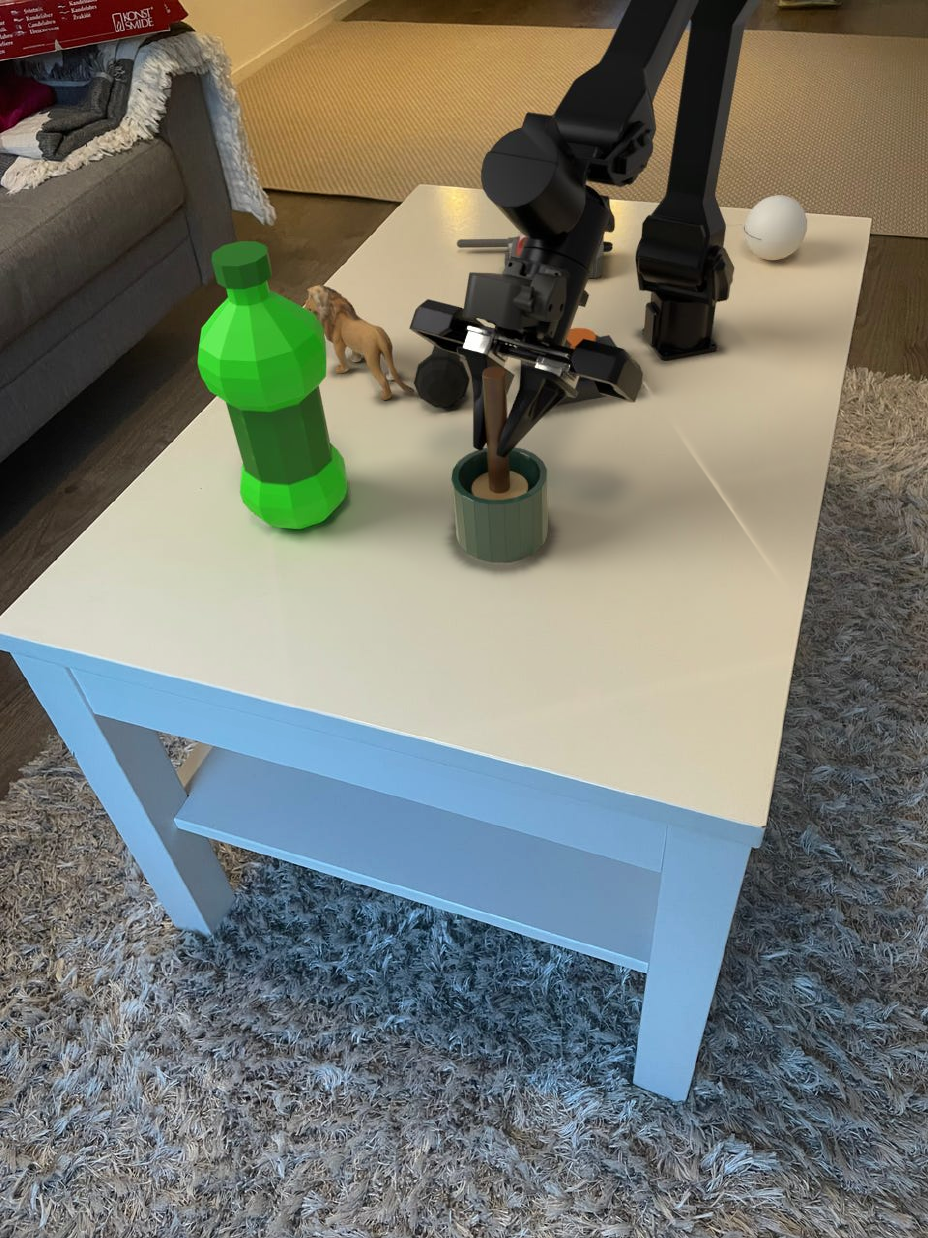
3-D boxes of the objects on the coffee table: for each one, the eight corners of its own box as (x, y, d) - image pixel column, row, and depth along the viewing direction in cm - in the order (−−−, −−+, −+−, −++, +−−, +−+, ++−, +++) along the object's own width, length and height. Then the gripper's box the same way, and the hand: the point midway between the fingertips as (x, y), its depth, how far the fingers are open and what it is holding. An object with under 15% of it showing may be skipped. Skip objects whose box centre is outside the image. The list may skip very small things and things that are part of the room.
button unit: (608, 352, 106) (609, 319, 103) (636, 395, 100) (639, 361, 97) (520, 369, 105) (519, 335, 102) (544, 413, 99) (543, 379, 96)
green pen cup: (533, 501, 89) (532, 438, 84) (558, 557, 83) (559, 493, 78) (448, 518, 88) (442, 455, 83) (468, 576, 82) (463, 512, 77)
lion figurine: (303, 367, 108) (287, 292, 102) (336, 346, 111) (323, 272, 104) (398, 408, 101) (388, 330, 95) (432, 385, 104) (424, 307, 97)
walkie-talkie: (612, 247, 124) (458, 249, 126) (614, 213, 121) (456, 216, 123) (611, 279, 118) (450, 281, 120) (613, 244, 114) (447, 246, 117)
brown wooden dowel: (520, 497, 86) (515, 351, 75) (535, 530, 82) (532, 382, 72) (468, 507, 85) (456, 362, 75) (481, 541, 82) (470, 394, 72)
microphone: (439, 347, 115) (425, 425, 99) (420, 303, 112) (403, 376, 96) (481, 332, 113) (475, 408, 98) (464, 286, 110) (454, 358, 95)
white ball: (804, 246, 120) (816, 186, 115) (797, 273, 116) (809, 212, 110) (723, 239, 123) (731, 180, 118) (713, 265, 118) (720, 205, 113)
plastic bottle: (310, 465, 95) (255, 212, 77) (378, 511, 89) (335, 249, 71) (225, 514, 90) (145, 256, 73) (291, 565, 85) (221, 300, 67)
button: (589, 340, 101) (589, 325, 100) (600, 357, 99) (600, 341, 97) (556, 346, 101) (556, 331, 99) (566, 363, 98) (566, 348, 97)
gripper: (409, 198, 72) (343, 398, 74) (635, 244, 65) (555, 466, 66) (472, 256, 82) (412, 430, 84) (674, 301, 75) (604, 493, 76)
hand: (488, 452), depth 77 cm, fingers closed on brown wooden dowel, 2 cm apart
